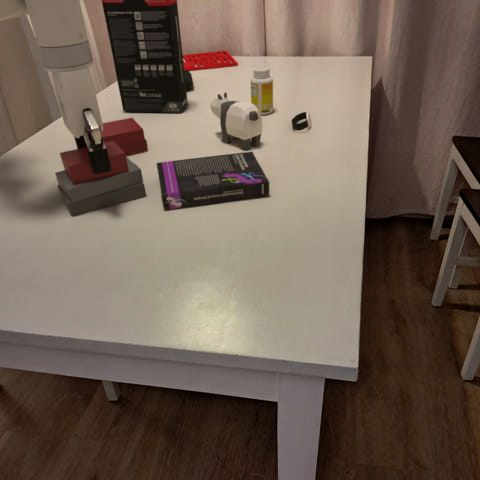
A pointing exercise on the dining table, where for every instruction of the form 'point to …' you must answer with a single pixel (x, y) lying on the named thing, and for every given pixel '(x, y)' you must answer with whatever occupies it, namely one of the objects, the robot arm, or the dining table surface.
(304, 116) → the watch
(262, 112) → the supplement bottle
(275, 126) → the dining table surface
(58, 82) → the robot arm
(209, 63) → the maze puzzle
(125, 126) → the burgundy book pile
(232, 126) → the giant panda
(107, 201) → the grey book pile
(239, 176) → the box
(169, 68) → the graphics card box
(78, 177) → the dark red rectangular block
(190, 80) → the carrying case
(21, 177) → the dining table surface
